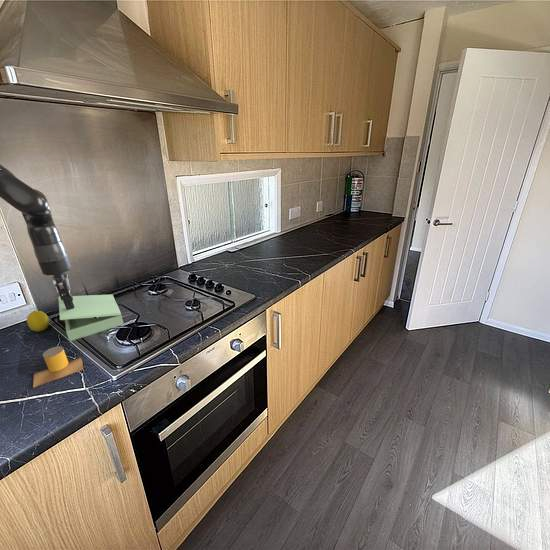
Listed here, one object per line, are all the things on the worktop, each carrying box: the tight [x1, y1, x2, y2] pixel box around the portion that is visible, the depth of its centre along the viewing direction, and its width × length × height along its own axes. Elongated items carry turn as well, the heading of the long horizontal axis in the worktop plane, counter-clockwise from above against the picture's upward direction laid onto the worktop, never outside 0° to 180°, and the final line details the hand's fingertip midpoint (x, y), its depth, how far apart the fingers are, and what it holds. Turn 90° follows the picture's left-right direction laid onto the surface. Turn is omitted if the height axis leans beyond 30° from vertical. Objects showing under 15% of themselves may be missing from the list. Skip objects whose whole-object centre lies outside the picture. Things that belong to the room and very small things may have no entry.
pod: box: [42, 345, 69, 372], centre depth 80 cm, size 5×5×5 cm
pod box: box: [64, 314, 125, 342], centre depth 101 cm, size 16×18×4 cm
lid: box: [57, 289, 122, 321], centre depth 99 cm, size 16×18×6 cm
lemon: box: [26, 310, 50, 332], centre depth 96 cm, size 6×6×8 cm
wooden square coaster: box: [32, 356, 84, 388], centre depth 81 cm, size 11×11×1 cm
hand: (70, 304), depth 96 cm, fingers closed on lid, 6 cm apart
